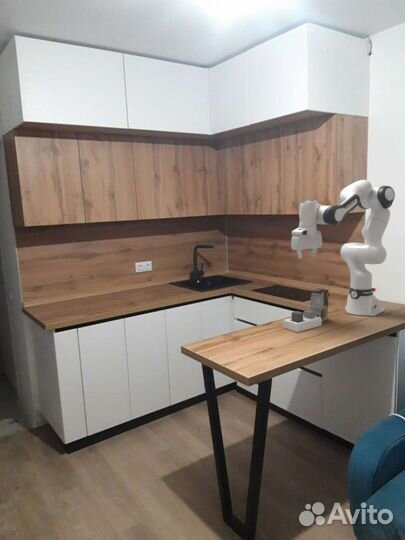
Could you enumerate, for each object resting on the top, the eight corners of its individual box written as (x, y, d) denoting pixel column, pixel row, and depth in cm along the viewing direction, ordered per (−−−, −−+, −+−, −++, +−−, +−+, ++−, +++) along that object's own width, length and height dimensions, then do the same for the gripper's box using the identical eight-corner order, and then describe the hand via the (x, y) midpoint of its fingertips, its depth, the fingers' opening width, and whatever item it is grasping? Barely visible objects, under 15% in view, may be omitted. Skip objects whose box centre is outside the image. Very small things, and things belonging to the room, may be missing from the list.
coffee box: (316, 316, 223) (317, 287, 221) (327, 319, 219) (329, 289, 217) (309, 320, 216) (310, 290, 214) (320, 322, 212) (322, 292, 210)
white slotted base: (307, 321, 215) (307, 308, 214) (321, 325, 208) (321, 312, 207) (283, 327, 205) (283, 314, 204) (296, 332, 198) (297, 318, 196)
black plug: (296, 324, 207) (297, 311, 206) (303, 326, 203) (303, 312, 202) (291, 325, 204) (291, 312, 203) (297, 327, 201) (297, 314, 200)
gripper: (316, 229, 221) (315, 255, 223) (289, 231, 210) (288, 258, 212) (325, 230, 216) (324, 256, 218) (298, 232, 204) (298, 259, 207)
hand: (306, 257), depth 215 cm, fingers open, 8 cm apart
